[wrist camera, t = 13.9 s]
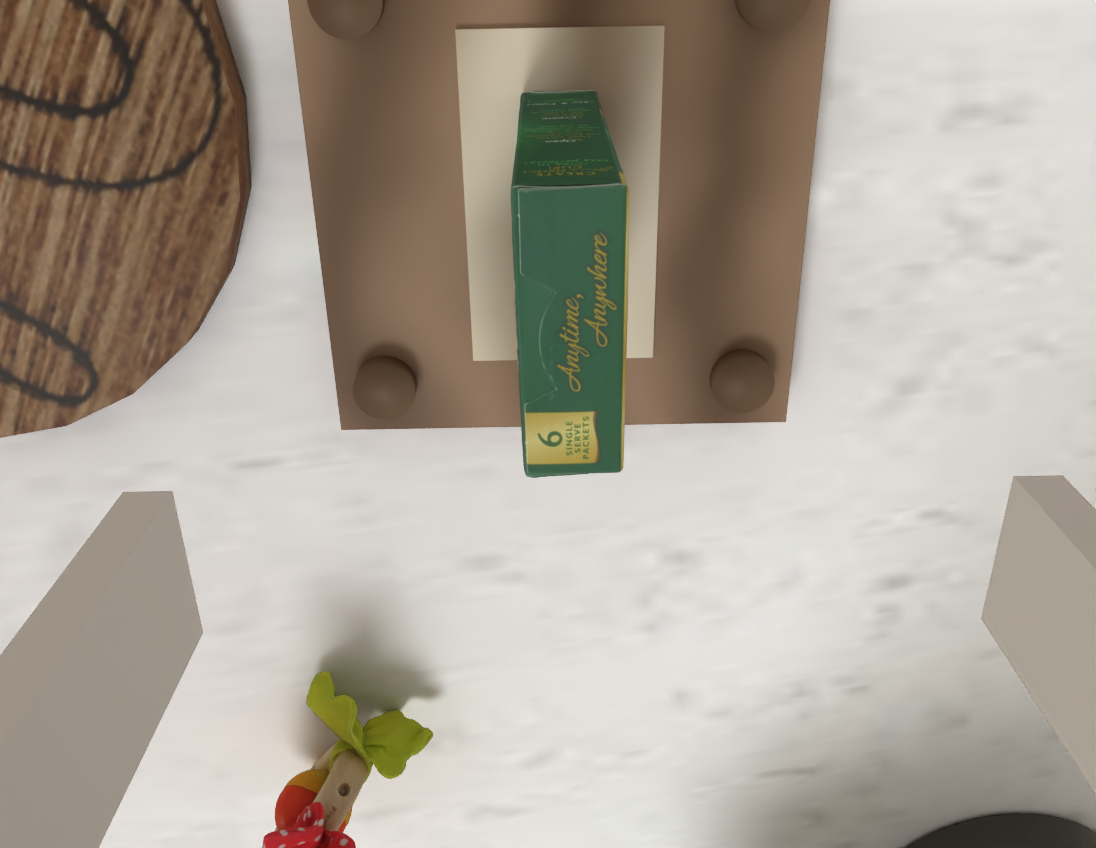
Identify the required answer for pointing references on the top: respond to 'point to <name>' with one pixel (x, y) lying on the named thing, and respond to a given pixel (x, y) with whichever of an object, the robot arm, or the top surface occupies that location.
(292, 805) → the bird rattle
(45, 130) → the trivet
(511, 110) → the base plate
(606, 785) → the top surface
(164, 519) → the robot arm
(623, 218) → the coffee box
